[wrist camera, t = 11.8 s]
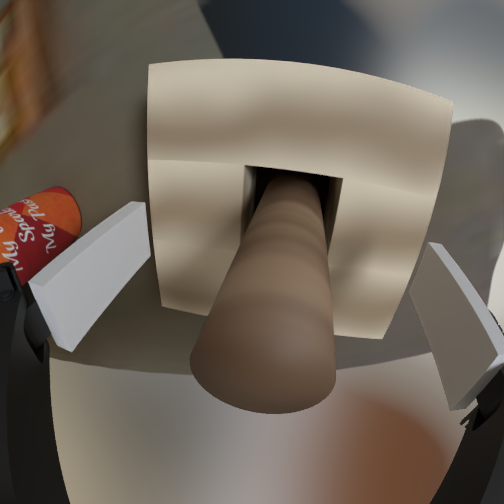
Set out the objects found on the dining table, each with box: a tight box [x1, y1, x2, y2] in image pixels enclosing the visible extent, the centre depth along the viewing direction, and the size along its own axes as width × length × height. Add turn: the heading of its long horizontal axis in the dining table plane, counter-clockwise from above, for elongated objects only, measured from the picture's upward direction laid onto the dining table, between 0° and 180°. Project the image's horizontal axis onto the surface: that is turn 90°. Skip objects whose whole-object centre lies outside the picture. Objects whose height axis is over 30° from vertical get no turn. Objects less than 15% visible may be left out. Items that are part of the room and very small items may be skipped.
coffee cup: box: [0, 187, 82, 286], centre depth 17 cm, size 8×8×15 cm
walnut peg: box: [190, 169, 336, 414], centre depth 13 cm, size 4×4×15 cm
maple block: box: [147, 59, 454, 339], centre depth 17 cm, size 16×16×5 cm
